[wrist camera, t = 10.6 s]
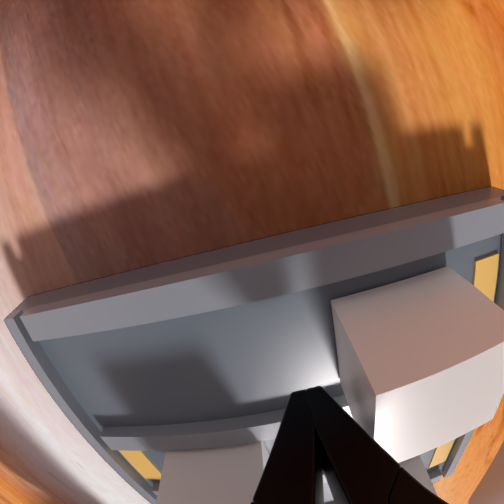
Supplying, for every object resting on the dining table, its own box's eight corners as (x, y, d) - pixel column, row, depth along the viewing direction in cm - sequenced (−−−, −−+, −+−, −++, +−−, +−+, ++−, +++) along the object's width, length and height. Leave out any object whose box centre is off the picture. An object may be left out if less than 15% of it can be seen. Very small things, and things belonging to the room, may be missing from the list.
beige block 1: (195, 481, 12) (189, 545, 9) (166, 445, 11) (153, 521, 7) (276, 472, 12) (283, 541, 8) (261, 435, 11) (266, 519, 7)
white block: (347, 497, 14) (359, 548, 10) (346, 476, 13) (361, 535, 9) (409, 477, 13) (427, 524, 10) (418, 451, 12) (441, 505, 9)
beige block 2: (340, 382, 10) (371, 472, 6) (330, 300, 9) (375, 395, 5) (441, 348, 10) (492, 418, 6) (448, 265, 8) (524, 329, 5)
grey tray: (188, 510, 16) (186, 531, 14) (27, 296, 10) (3, 319, 8) (442, 456, 15) (451, 474, 13) (492, 186, 9) (524, 197, 7)
